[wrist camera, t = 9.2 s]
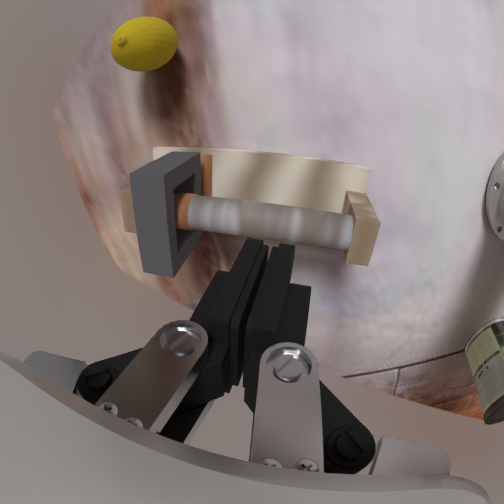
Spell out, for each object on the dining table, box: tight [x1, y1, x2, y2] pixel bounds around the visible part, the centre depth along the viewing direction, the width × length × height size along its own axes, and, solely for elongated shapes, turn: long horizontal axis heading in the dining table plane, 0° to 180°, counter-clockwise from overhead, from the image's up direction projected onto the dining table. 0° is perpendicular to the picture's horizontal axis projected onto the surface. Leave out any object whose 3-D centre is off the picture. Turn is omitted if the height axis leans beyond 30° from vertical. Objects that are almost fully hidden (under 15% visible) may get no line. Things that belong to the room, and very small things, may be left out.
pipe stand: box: [119, 147, 380, 266], centre depth 26 cm, size 22×9×8 cm, turn 86°
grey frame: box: [129, 151, 202, 278], centre depth 25 cm, size 3×9×8 cm, turn 176°
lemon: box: [110, 17, 178, 71], centre depth 19 cm, size 6×6×8 cm
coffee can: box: [465, 318, 504, 424], centre depth 27 cm, size 10×10×14 cm
